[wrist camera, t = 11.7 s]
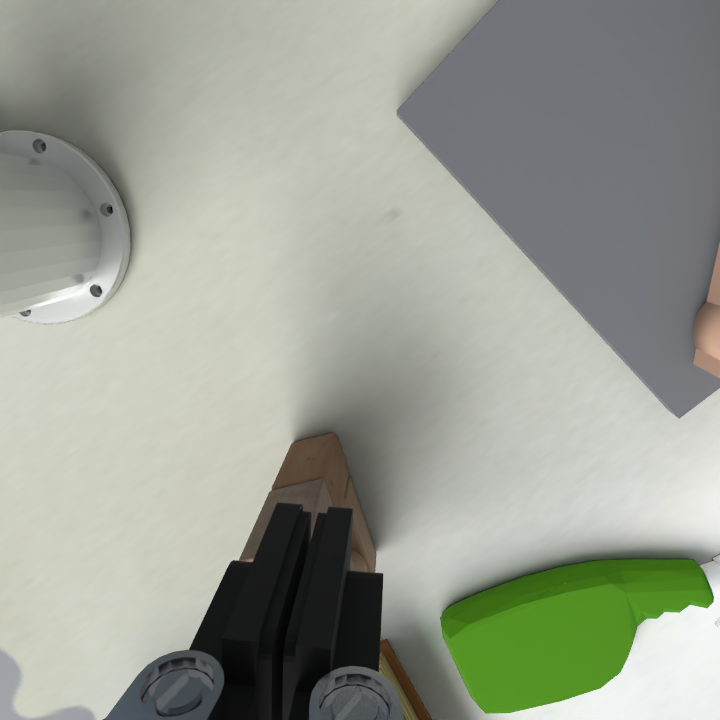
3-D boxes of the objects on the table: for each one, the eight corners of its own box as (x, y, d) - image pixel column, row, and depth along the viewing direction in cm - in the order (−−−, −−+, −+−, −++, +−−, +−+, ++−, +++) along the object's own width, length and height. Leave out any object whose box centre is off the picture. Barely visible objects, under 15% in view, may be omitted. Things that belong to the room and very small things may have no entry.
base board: (396, 114, 34) (396, 111, 33) (666, -176, 30) (680, -195, 28) (668, 410, 38) (679, 418, 37) (946, 196, 34) (970, 196, 32)
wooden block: (336, 429, 41) (289, 598, 23) (377, 553, 43) (363, 787, 26) (289, 441, 41) (209, 615, 24) (333, 563, 44) (289, 799, 26)
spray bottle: (431, 597, 44) (746, 495, 41) (479, 700, 47) (780, 613, 43) (434, 624, 42) (772, 517, 38) (484, 732, 44) (807, 642, 40)
